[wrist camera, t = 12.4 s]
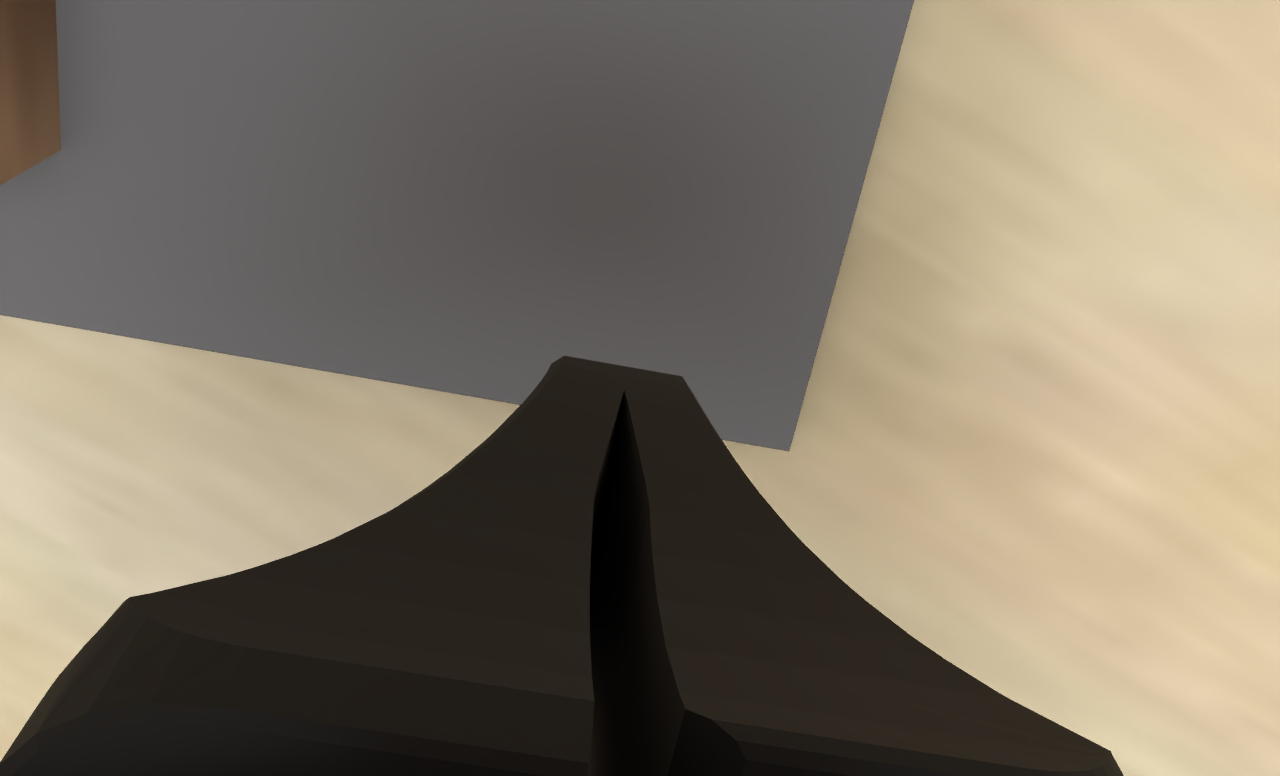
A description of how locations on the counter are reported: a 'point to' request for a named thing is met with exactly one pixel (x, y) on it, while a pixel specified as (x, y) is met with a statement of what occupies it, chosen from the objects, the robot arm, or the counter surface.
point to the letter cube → (28, 85)
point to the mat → (461, 187)
